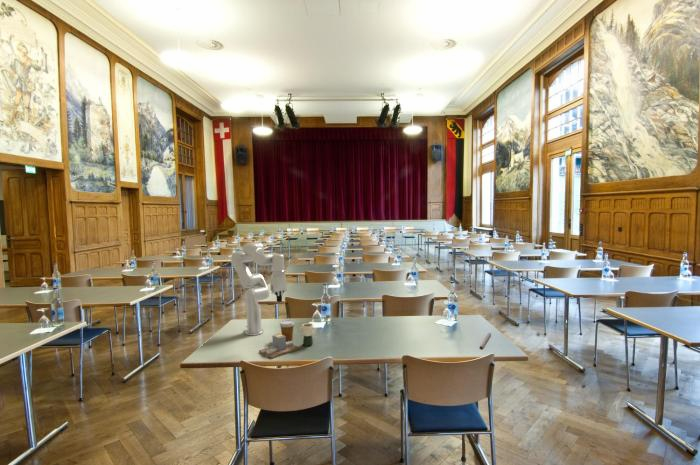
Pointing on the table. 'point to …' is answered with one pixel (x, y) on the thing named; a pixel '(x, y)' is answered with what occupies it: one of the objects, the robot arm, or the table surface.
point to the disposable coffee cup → (287, 329)
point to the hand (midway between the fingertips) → (279, 301)
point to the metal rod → (485, 340)
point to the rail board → (273, 351)
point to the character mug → (307, 333)
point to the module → (279, 341)
